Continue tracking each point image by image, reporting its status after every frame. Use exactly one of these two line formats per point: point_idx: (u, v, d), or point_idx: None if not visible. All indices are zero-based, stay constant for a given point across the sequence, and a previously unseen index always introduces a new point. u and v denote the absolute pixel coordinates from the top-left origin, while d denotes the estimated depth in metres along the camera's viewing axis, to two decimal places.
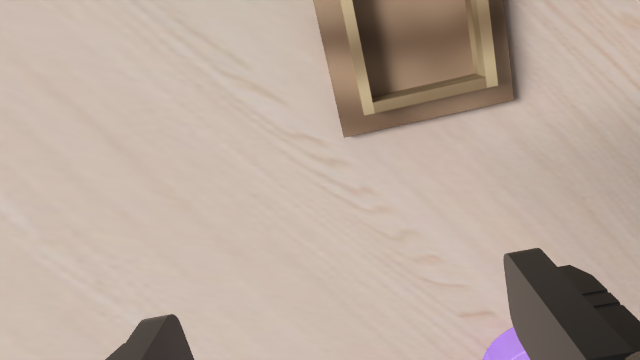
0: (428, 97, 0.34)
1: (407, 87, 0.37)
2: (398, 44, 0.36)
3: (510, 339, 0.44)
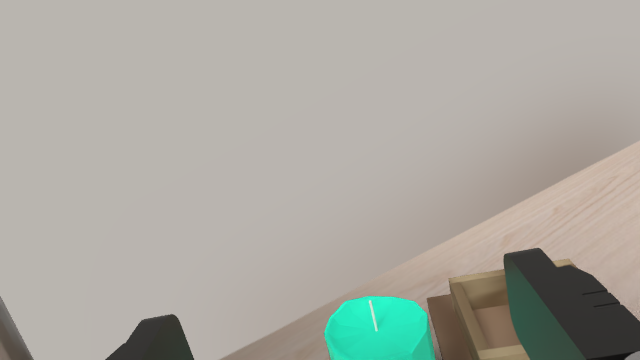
0: None
1: None
2: None
3: None
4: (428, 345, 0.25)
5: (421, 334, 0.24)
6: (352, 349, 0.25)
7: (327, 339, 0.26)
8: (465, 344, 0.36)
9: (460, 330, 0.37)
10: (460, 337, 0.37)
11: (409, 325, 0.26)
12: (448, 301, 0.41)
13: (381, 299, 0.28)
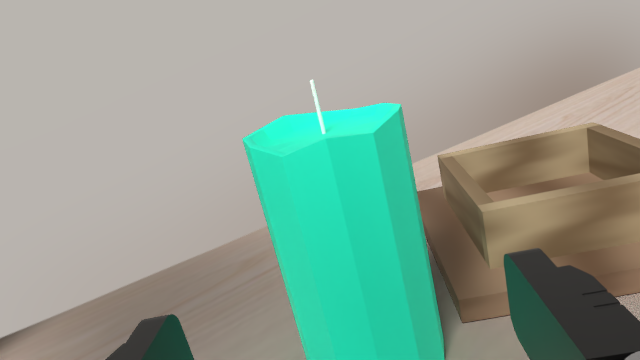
0: (638, 141, 0.24)
1: None
2: None
3: None
4: (402, 137, 0.16)
5: (390, 114, 0.15)
6: (282, 150, 0.16)
7: (245, 142, 0.16)
8: (461, 225, 0.27)
9: (454, 214, 0.28)
10: (454, 221, 0.27)
11: (374, 122, 0.17)
12: (438, 192, 0.32)
13: (335, 112, 0.19)
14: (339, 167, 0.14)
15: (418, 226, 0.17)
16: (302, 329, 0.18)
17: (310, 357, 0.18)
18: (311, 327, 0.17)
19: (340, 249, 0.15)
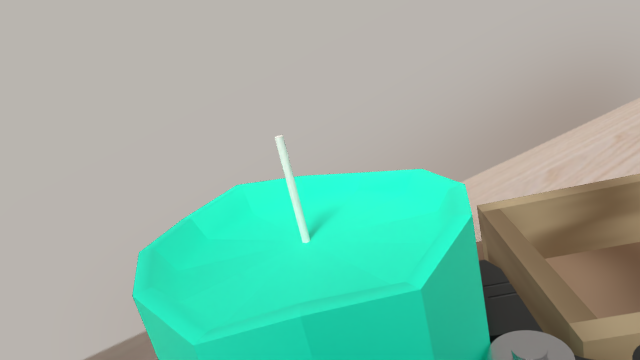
0: None
1: None
2: None
3: None
4: (478, 273, 0.07)
5: (455, 228, 0.07)
6: (212, 294, 0.07)
7: (140, 266, 0.08)
8: None
9: None
10: None
11: (409, 221, 0.08)
12: None
13: (331, 179, 0.11)
14: None
15: None
16: None
17: None
18: None
19: None
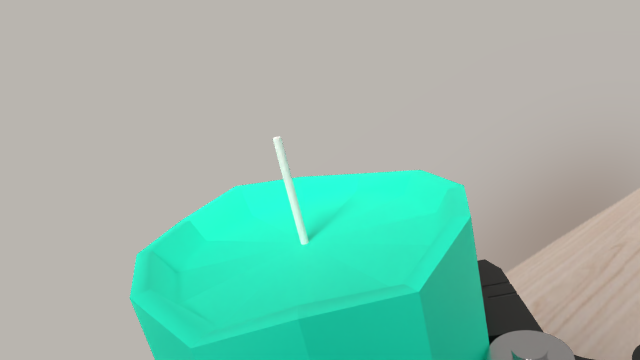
0: None
1: None
2: None
3: None
4: (477, 274, 0.07)
5: (454, 229, 0.07)
6: (210, 295, 0.07)
7: (138, 268, 0.08)
8: None
9: None
10: None
11: (407, 222, 0.08)
12: None
13: (330, 180, 0.11)
14: None
15: None
16: None
17: None
18: None
19: None
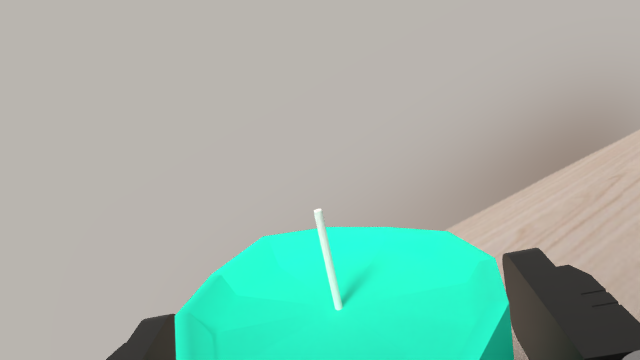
0: None
1: None
2: None
3: None
4: (511, 355, 0.07)
5: (494, 316, 0.07)
6: None
7: (178, 333, 0.08)
8: None
9: None
10: None
11: (440, 292, 0.08)
12: None
13: (356, 233, 0.11)
14: None
15: None
16: None
17: None
18: None
19: None
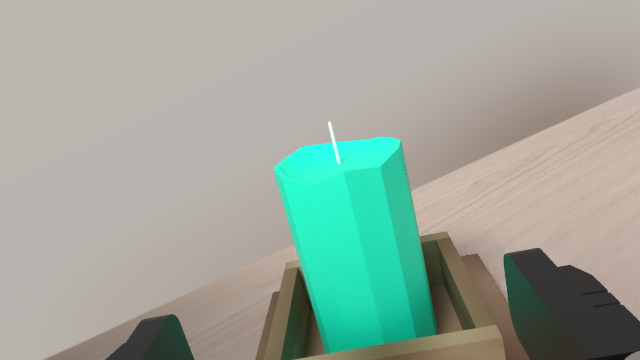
0: (463, 275, 0.23)
1: None
2: None
3: None
4: (402, 168, 0.20)
5: (393, 150, 0.19)
6: (307, 178, 0.20)
7: (277, 171, 0.20)
8: None
9: None
10: None
11: (379, 154, 0.21)
12: None
13: (346, 143, 0.23)
14: (354, 194, 0.18)
15: (415, 237, 0.21)
16: (322, 322, 0.22)
17: (329, 345, 0.22)
18: (330, 319, 0.21)
19: (355, 257, 0.19)
